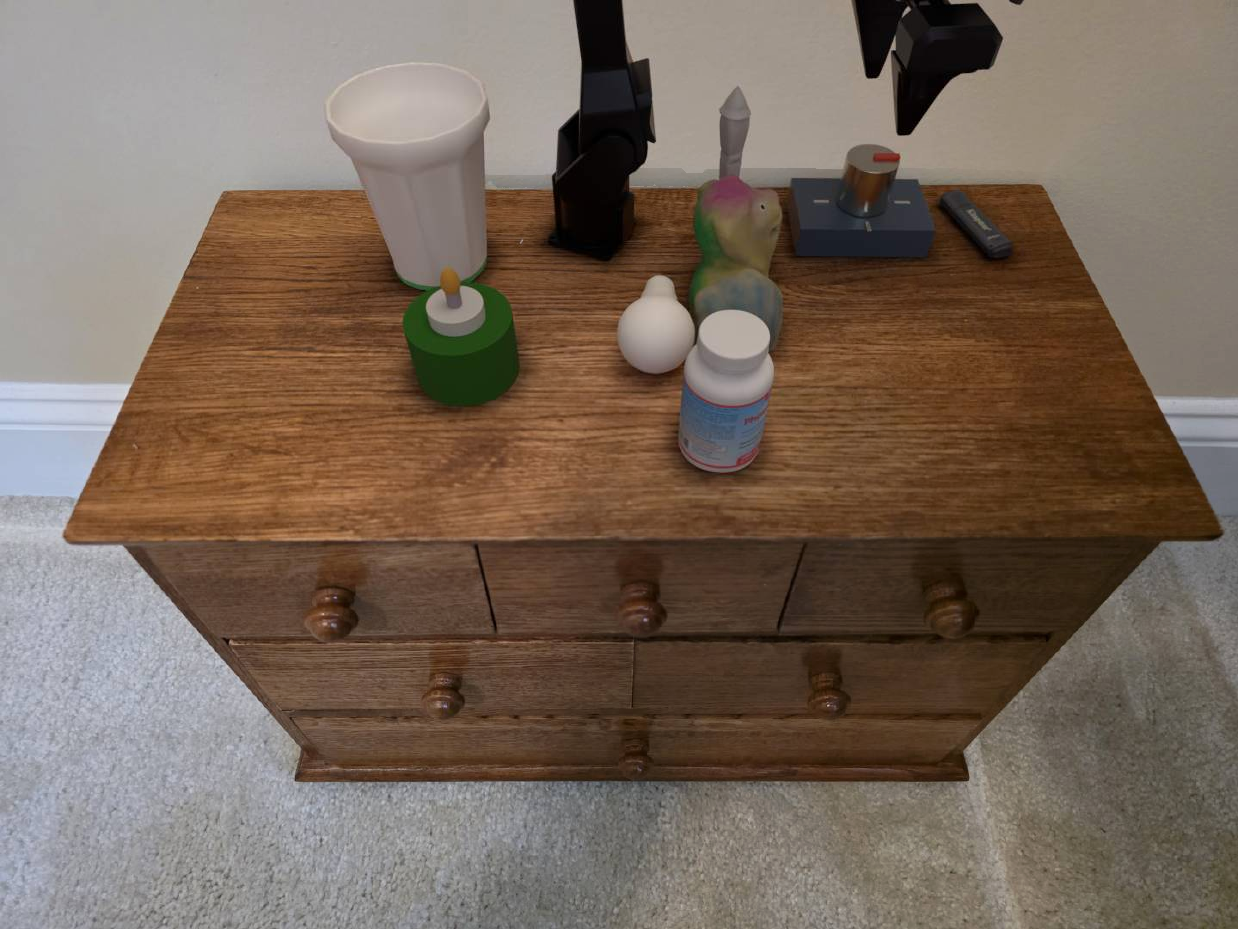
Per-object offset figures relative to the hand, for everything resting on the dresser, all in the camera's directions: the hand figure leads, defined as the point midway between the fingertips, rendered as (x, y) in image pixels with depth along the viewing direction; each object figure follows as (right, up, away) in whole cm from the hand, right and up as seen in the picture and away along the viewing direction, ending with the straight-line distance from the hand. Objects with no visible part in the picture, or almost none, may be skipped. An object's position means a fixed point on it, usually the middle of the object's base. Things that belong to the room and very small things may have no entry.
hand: (886, 104), depth 67 cm
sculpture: (-13, -16, +3) cm, 21 cm away
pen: (-13, -8, +10) cm, 18 cm away
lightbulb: (-19, -14, +3) cm, 24 cm away
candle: (-34, -22, -1) cm, 41 cm away
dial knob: (0, -6, +7) cm, 9 cm away
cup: (-39, -11, +7) cm, 41 cm away
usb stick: (+11, -8, +10) cm, 17 cm away
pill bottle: (-15, -28, -6) cm, 33 cm away
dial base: (0, -8, +10) cm, 12 cm away
